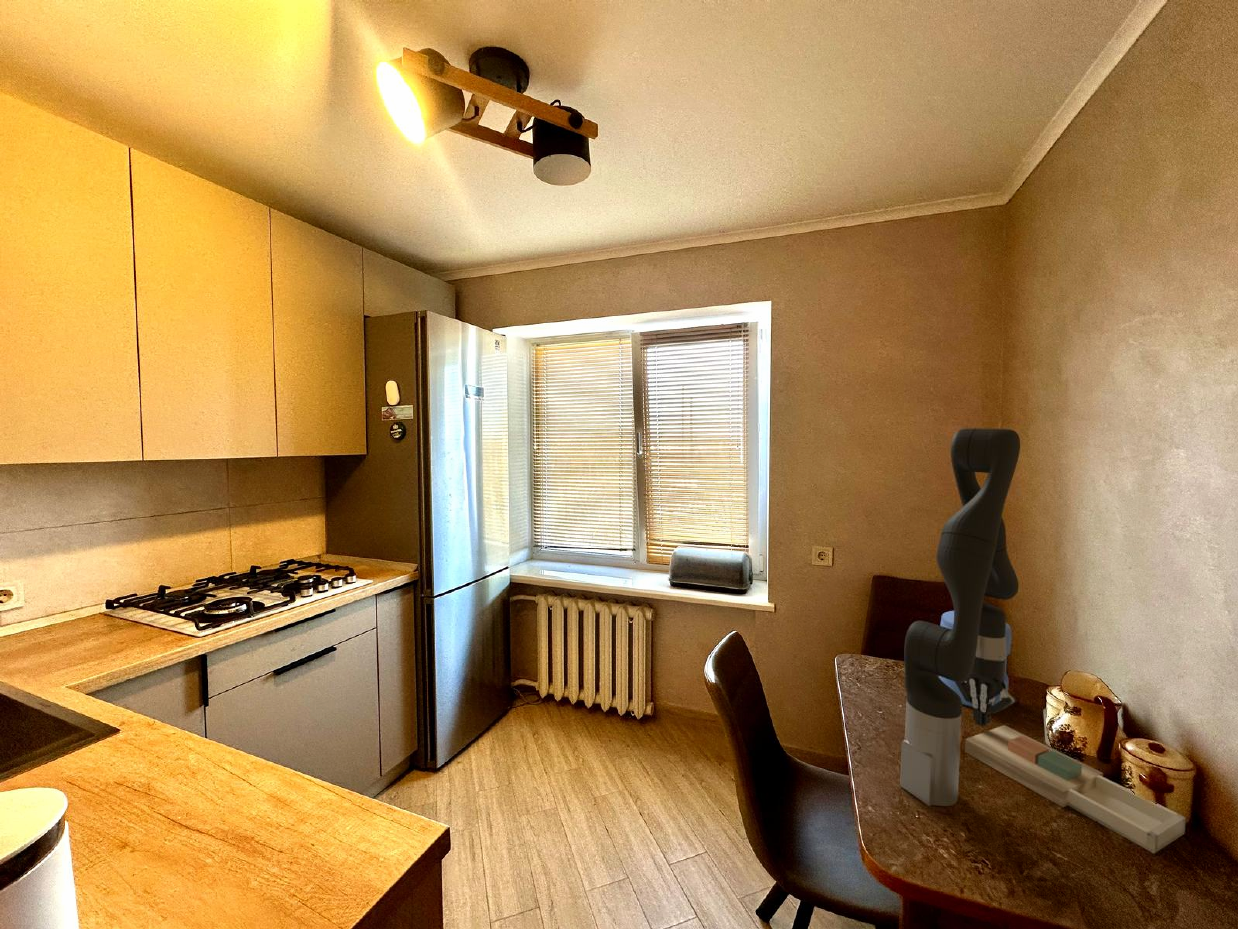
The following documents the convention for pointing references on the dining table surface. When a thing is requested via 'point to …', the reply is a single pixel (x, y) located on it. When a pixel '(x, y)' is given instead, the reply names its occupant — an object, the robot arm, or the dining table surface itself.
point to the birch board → (1027, 766)
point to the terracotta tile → (1027, 748)
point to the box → (1129, 814)
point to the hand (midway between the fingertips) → (981, 724)
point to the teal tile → (1060, 765)
